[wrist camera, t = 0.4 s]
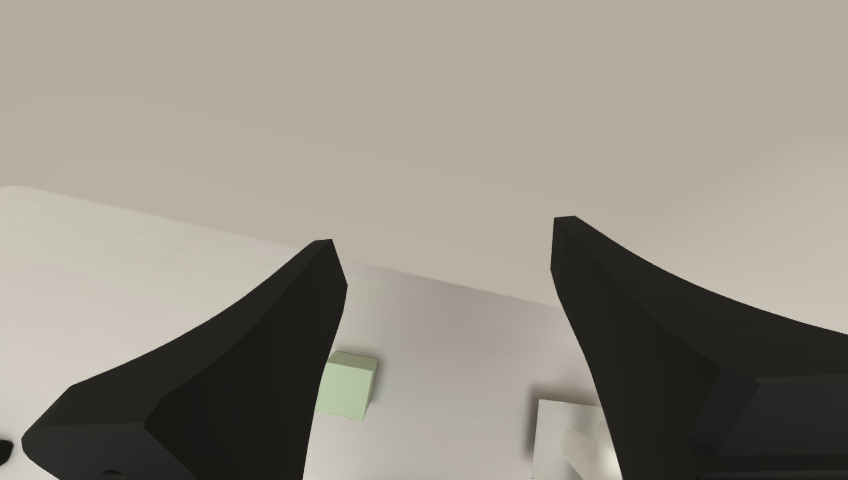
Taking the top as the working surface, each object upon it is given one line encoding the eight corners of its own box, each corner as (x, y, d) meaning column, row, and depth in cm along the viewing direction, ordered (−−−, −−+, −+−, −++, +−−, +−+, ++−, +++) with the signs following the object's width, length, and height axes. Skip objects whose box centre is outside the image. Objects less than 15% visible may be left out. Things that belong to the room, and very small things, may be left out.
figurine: (518, 469, 37) (589, 606, 22) (528, 375, 37) (602, 445, 23) (588, 478, 37) (706, 620, 22) (596, 384, 38) (714, 459, 23)
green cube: (369, 402, 37) (362, 420, 33) (327, 394, 37) (314, 411, 33) (378, 359, 37) (372, 371, 33) (336, 351, 37) (325, 361, 33)
